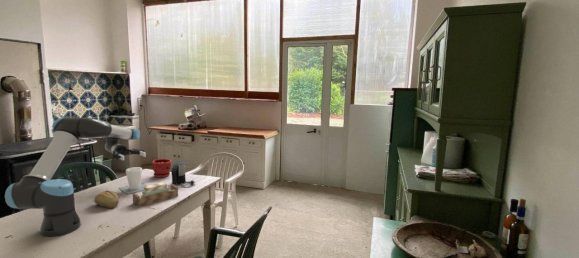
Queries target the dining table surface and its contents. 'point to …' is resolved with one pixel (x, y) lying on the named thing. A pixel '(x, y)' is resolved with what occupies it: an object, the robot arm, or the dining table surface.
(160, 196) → the offcut rack
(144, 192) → the sage painted offcut
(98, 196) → the bread roll
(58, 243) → the dining table surface
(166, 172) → the plant pot
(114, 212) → the dining table surface
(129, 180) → the foam cup
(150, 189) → the short birch offcut
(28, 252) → the dining table surface
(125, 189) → the slate mat
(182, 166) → the milk frother
